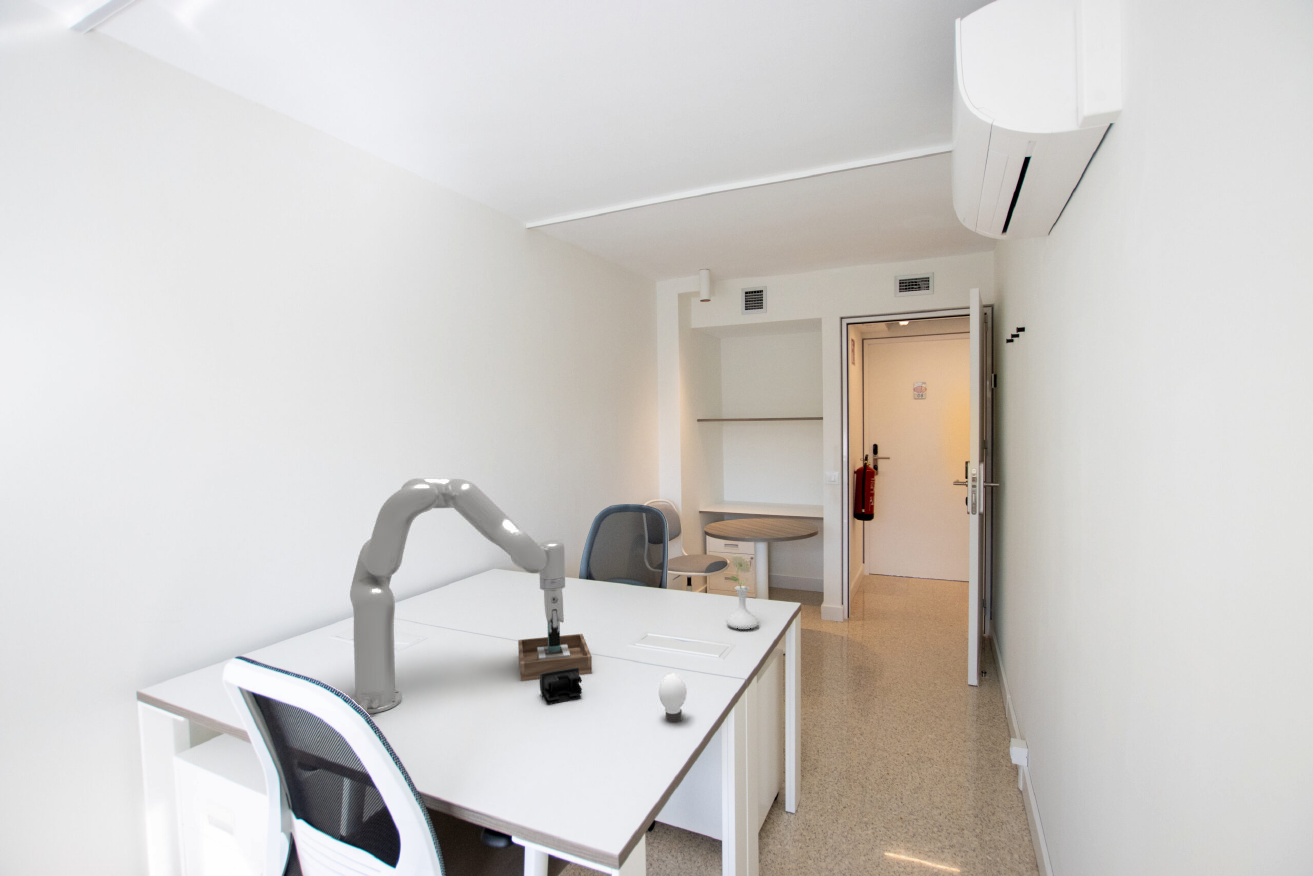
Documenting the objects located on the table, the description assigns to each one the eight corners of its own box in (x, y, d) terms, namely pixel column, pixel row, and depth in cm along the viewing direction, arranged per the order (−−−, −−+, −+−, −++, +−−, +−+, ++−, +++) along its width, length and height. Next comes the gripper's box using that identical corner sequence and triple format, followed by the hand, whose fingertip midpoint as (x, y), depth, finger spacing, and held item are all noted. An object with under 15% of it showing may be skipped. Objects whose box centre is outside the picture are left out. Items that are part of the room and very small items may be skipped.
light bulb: (692, 718, 153) (691, 673, 152) (674, 728, 148) (674, 682, 147) (671, 710, 157) (670, 666, 157) (653, 719, 152) (652, 674, 152)
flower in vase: (765, 629, 217) (764, 557, 216) (736, 634, 213) (735, 560, 212) (746, 618, 229) (745, 550, 228) (718, 622, 225) (717, 553, 224)
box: (591, 673, 181) (591, 656, 180) (520, 681, 176) (520, 663, 176) (582, 649, 200) (582, 633, 200) (518, 655, 195) (518, 639, 195)
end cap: (576, 688, 171) (575, 664, 171) (583, 699, 164) (583, 673, 164) (539, 695, 167) (539, 670, 167) (545, 706, 160) (545, 680, 160)
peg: (560, 651, 186) (560, 618, 186) (548, 652, 186) (547, 619, 185) (559, 647, 190) (558, 614, 190) (547, 648, 189) (546, 615, 189)
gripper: (568, 588, 180) (569, 651, 181) (562, 575, 196) (563, 633, 197) (541, 590, 178) (543, 654, 179) (537, 577, 194) (539, 635, 195)
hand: (553, 642), depth 188 cm, fingers closed on peg, 3 cm apart
